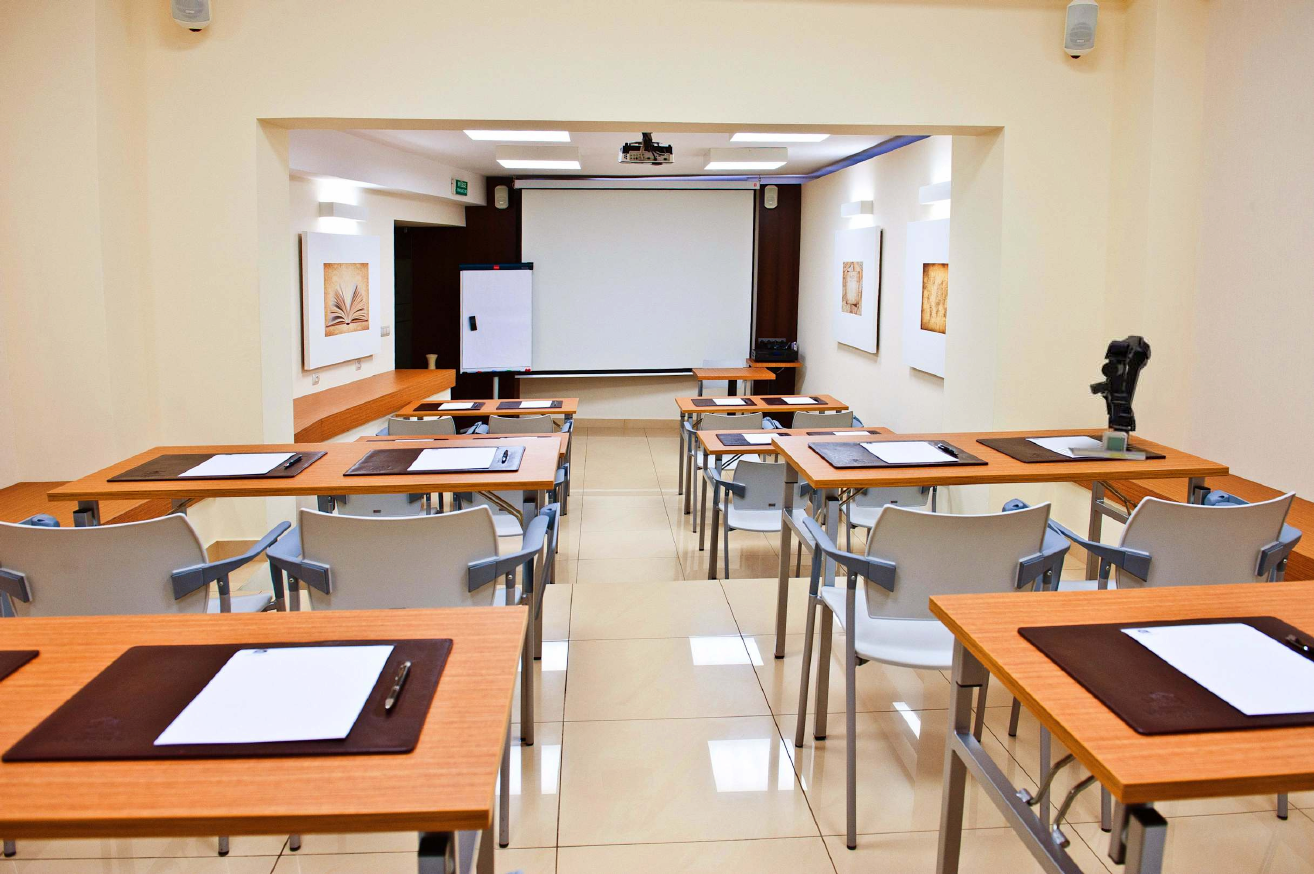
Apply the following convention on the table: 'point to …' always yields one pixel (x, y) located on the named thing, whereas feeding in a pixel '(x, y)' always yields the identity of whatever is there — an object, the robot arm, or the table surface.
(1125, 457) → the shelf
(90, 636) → the table surface
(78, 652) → the table surface
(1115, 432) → the tea box
